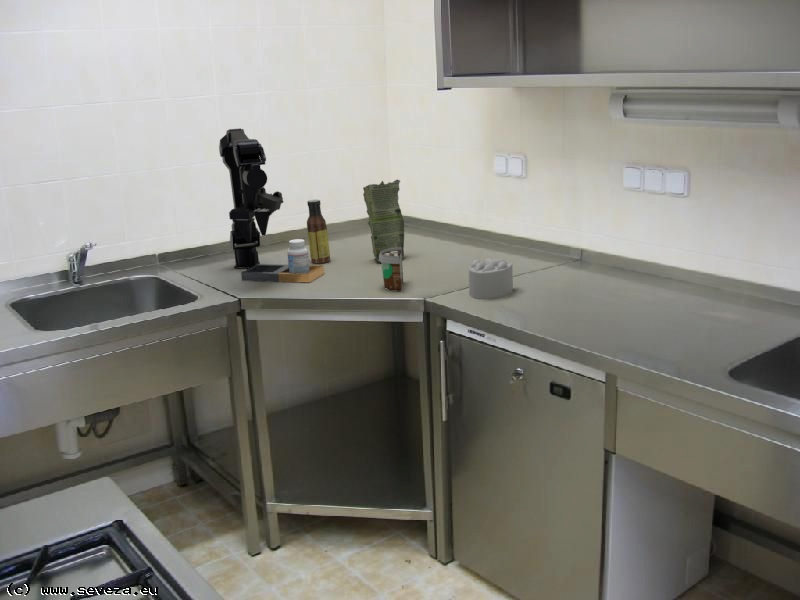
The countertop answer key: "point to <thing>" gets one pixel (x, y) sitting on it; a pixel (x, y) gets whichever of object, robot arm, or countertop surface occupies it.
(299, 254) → the pill bottle
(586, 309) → the countertop surface
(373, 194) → the pouch
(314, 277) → the metal frame
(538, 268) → the countertop surface
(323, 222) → the sauce bottle
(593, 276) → the countertop surface
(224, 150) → the robot arm
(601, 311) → the countertop surface
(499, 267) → the lumpy-topped squat cylinder
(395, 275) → the food container
